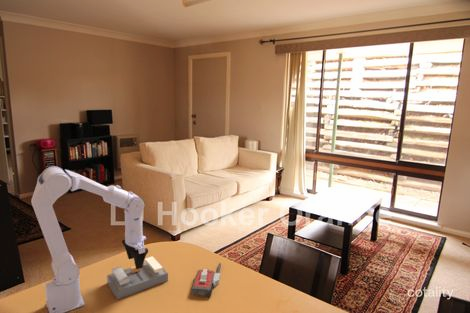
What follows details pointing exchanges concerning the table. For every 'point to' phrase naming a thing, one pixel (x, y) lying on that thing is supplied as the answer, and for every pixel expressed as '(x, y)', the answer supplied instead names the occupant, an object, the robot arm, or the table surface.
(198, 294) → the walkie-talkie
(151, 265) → the cream bar
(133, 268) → the orange rectangular block
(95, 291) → the table surface
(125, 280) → the grey bar
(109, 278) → the panel
